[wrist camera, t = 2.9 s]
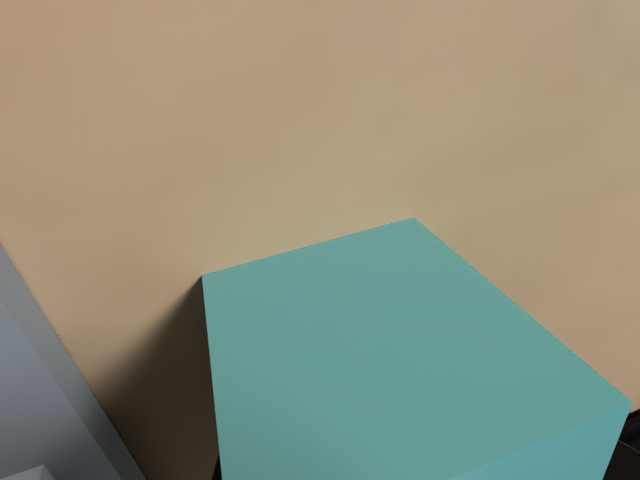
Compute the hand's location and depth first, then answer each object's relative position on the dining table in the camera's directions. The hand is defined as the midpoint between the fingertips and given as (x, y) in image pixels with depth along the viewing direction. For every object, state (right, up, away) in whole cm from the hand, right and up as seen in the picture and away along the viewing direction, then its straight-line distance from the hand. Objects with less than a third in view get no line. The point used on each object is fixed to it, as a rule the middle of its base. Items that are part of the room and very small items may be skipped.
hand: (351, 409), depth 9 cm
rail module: (0, +1, +1) cm, 1 cm away
